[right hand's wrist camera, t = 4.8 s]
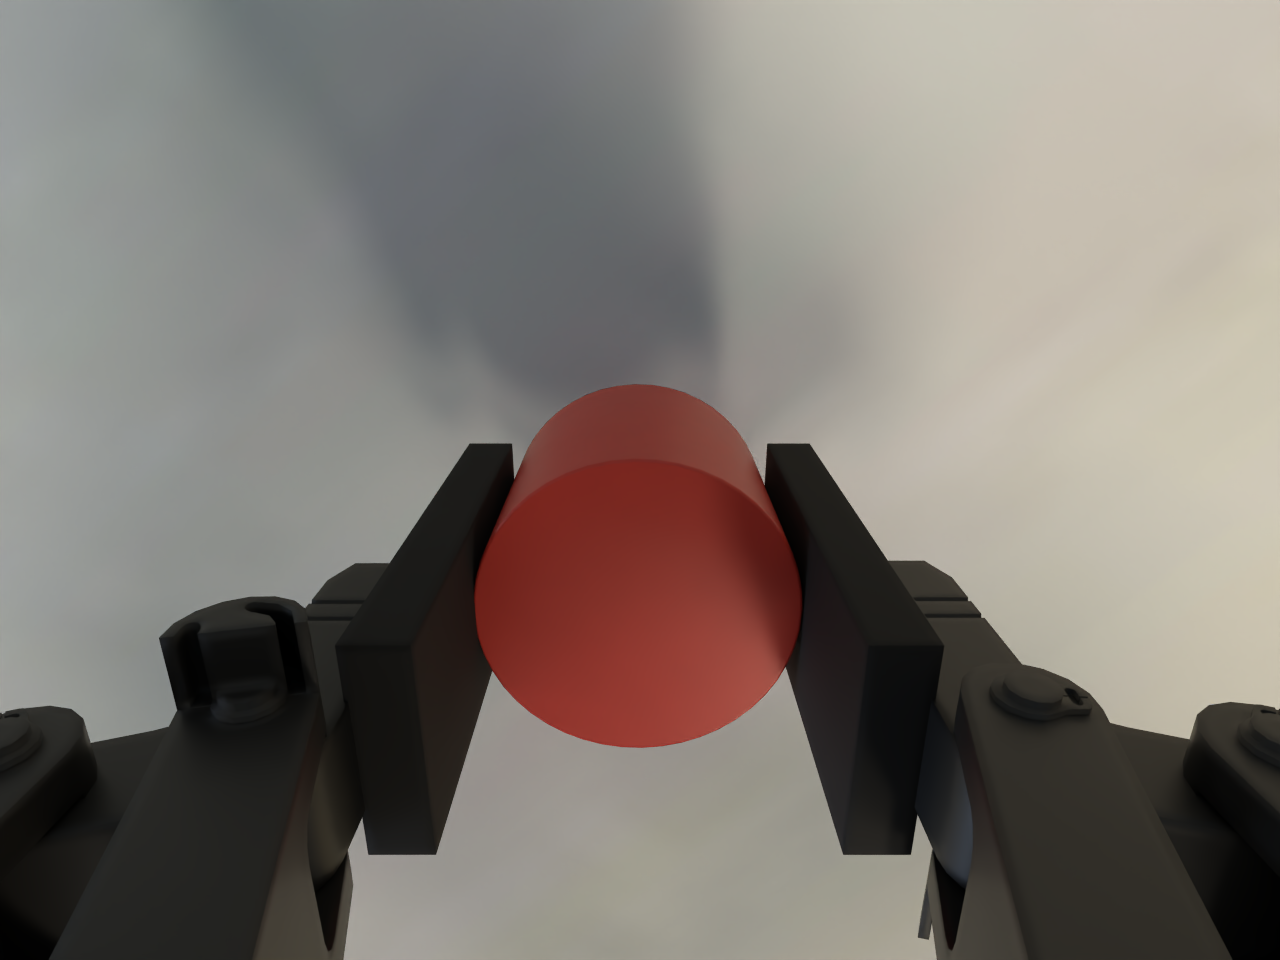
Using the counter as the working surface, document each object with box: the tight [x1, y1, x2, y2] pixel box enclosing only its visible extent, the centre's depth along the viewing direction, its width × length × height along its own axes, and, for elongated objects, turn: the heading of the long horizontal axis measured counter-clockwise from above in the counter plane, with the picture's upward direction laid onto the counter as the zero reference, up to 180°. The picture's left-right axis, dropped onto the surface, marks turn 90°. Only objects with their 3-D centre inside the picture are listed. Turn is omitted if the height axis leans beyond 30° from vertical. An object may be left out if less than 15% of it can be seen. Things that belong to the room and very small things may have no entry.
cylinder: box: [474, 384, 803, 748], centre depth 13 cm, size 4×5×4 cm
